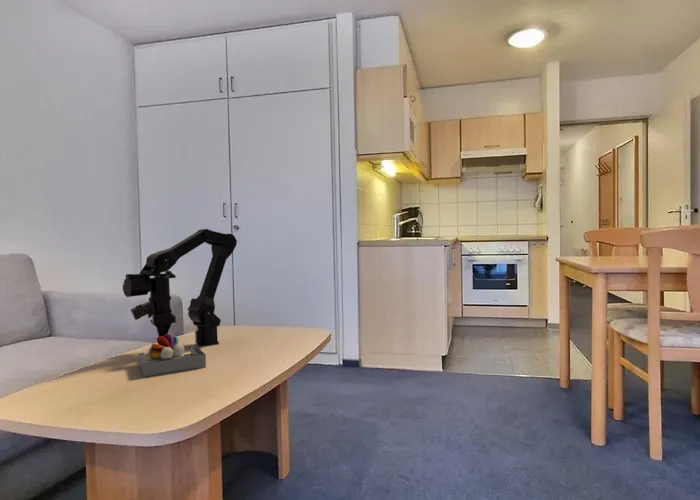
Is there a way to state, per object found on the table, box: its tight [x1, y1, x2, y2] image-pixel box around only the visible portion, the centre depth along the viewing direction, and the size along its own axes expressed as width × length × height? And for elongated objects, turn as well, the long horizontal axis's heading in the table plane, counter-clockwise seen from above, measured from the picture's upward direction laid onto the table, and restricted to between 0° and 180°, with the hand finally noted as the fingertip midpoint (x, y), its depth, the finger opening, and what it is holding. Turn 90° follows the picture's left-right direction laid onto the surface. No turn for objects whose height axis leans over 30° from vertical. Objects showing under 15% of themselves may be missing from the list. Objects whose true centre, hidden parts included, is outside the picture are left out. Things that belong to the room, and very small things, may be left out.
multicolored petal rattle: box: [147, 333, 185, 360], centre depth 139 cm, size 8×10×7 cm
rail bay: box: [137, 345, 207, 378], centre depth 129 cm, size 16×14×4 cm
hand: (162, 342), depth 144 cm, fingers closed
